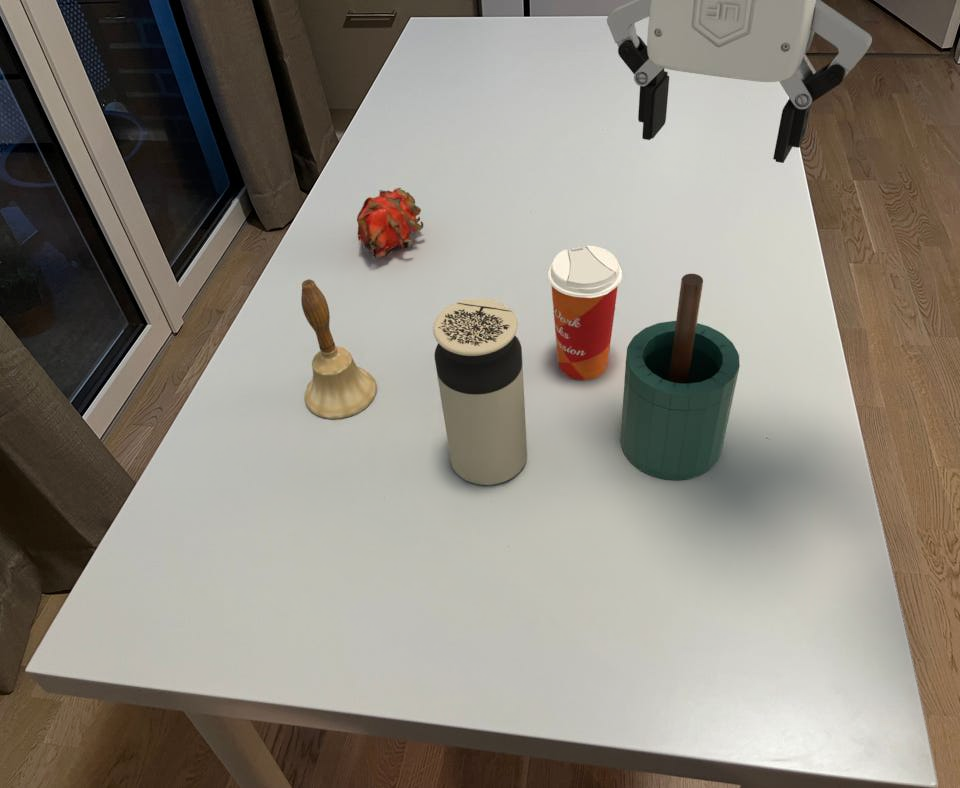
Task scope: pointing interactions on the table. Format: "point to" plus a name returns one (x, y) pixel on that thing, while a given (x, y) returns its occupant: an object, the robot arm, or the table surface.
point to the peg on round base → (685, 327)
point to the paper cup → (584, 308)
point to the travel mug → (481, 389)
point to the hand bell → (333, 366)
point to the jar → (677, 402)
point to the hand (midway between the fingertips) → (716, 142)
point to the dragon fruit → (388, 221)
